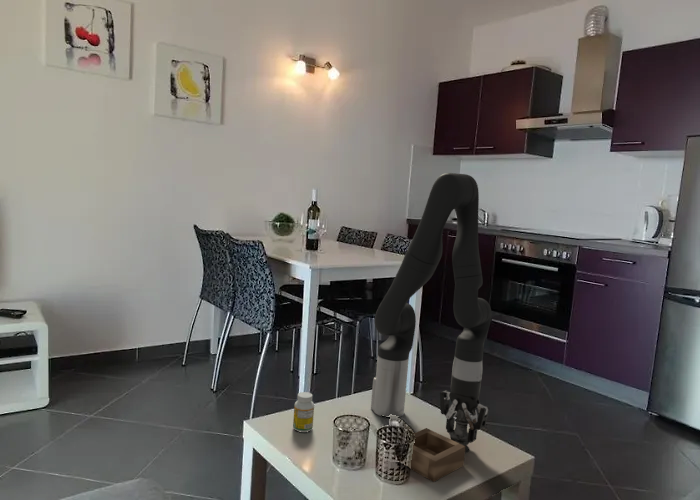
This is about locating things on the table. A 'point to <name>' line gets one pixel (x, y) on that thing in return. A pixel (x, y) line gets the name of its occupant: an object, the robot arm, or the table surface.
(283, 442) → the table surface
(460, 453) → the walnut holder
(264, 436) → the table surface
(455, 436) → the dark grey chess piece
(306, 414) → the supplement bottle
